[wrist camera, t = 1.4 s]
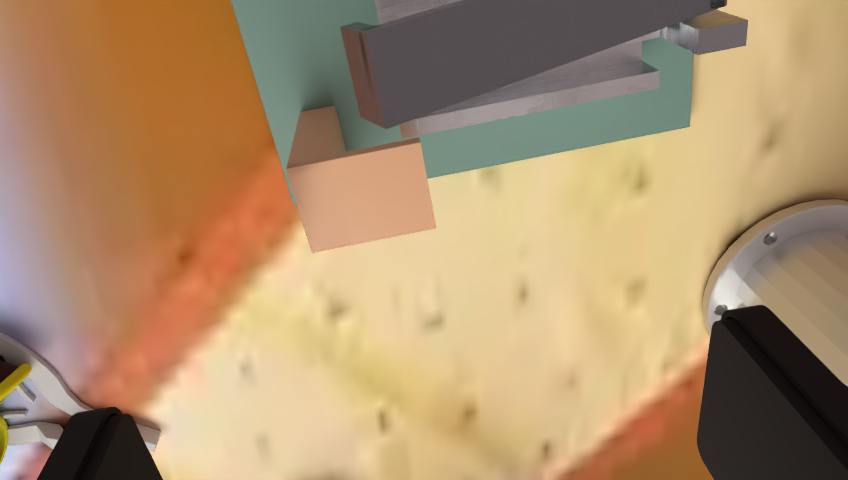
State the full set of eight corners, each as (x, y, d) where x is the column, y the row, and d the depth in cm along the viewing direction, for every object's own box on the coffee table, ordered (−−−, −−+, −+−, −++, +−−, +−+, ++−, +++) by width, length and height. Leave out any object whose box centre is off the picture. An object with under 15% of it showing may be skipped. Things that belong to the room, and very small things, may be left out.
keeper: (406, 90, 32) (420, 142, 25) (420, 163, 34) (436, 228, 27) (300, 112, 32) (286, 169, 25) (319, 183, 34) (311, 252, 27)
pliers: (-77, 318, 35) (178, 414, 40) (-61, 302, 37) (184, 397, 42) (-122, 430, 39) (118, 506, 44) (-106, 412, 40) (125, 487, 45)
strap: (691, -74, 26) (738, -76, 24) (688, 2, 27) (732, 5, 26) (339, 26, 20) (369, 33, 18) (360, 117, 21) (389, 131, 20)
